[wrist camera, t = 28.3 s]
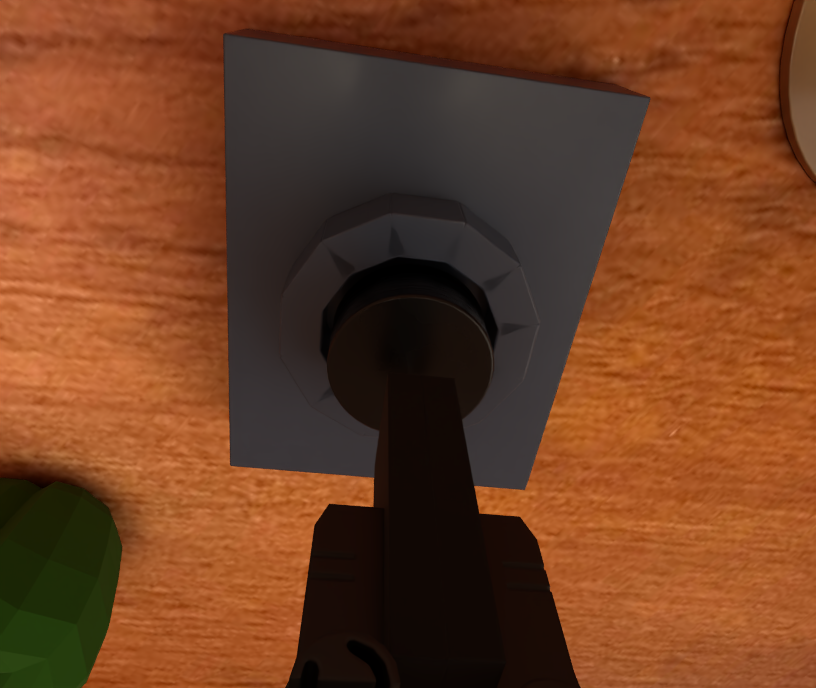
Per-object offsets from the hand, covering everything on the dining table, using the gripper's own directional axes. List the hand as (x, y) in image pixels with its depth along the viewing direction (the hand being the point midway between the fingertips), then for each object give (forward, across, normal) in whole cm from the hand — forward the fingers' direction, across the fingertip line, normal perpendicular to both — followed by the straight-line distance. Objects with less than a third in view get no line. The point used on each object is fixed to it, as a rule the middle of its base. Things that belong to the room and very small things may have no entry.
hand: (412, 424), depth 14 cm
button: (+4, 0, 0) cm, 4 cm away
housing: (+8, 0, 0) cm, 8 cm away
